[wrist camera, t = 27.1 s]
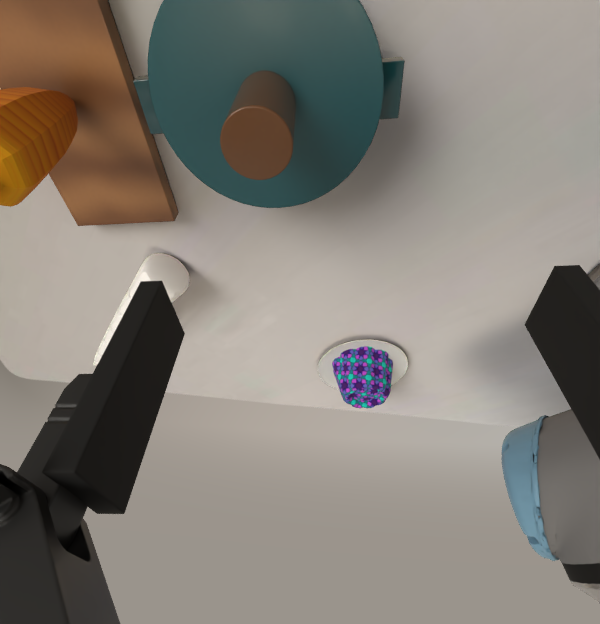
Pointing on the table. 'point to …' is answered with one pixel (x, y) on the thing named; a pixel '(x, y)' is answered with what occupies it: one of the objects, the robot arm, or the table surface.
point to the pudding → (363, 371)
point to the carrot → (32, 138)
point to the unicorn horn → (150, 270)
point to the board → (88, 108)
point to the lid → (266, 93)
